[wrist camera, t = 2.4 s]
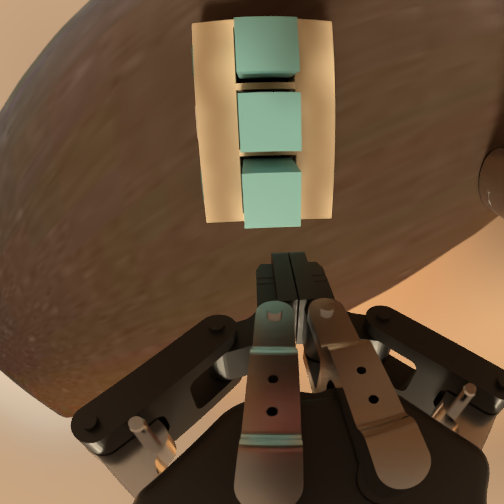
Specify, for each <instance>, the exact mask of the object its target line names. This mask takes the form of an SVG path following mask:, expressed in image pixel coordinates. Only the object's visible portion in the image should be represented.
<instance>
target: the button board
mask: <svg viewBox="0 0 504 504" xmlns="http://www.w3.org/2000/svg"><path fill="white" fill-rule="evenodd" d="M297 24H298V40H299V60H300V71H299V72H298V73H296V74H295V75H293V76H292V77H290V78H289V82H255V83H238V81H237V72H236V53H235V32H234V19H232V20H220V21H210V22H201V23H194V24H192V43H193V45H192V66H193V75H194V83H195V99H196V107H195V114H196V127H197V139H198V140H199V151H200V163H201V170H200V173H201V183H202V193H203V201H204V203H205V212H206V221H207V223H211V222H232V221H244V206H243V188H242V158H241V156H261V155H291V158H292V159H293V161H294V162H295V164H296V165H297V166H298V168H299V169H300V171H301V172H302V174H301V219H322V218H331V216H332V201H333V182H334V156H335V76H334V52H333V35H332V22H331V21H321V20H308V19H297ZM247 91H289V92H301V136H302V151H269V152H243V153H241V151H240V132H239V113H238V94H237V93H238V92H247Z"/></svg>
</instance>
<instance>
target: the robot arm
mask: <svg viewBox="0 0 504 504" xmlns="http://www.w3.org/2000/svg"><path fill="white" fill-rule="evenodd" d="M479 192H480V196H481V199H482V202H483V203H484V205H485V206H486V207H487V208H489V209H490V210H492V211H493V212H494V213H496V214H498V215H499V216H501V217H502V218H503V219H504V149H503V148H498V149H495V150H493V151H492V152H491V153H490V154H489V155H488V156H487V158H486V159H485V161H484V163H483V165H482V168H481V172H480V177H479ZM256 280H257V309H256V312H255V313H254V314H253V315H252V316H251V317H249V318H248V319H246V320H243V321H239V322H235V321H234V320H233V319H232V318H230V317H228V316H225V315H213V316H210V317H207V318H205V319H204V320H202V321H201V322H200V323H198V324H197V325H196V326H194V327H193V328H191V329H190V330H189V331H187V332H186V333H185V334H183V335H182V336H181V337H179V338H178V339H177V340H175V341H174V342H173V343H171V344H170V345H169V346H167V347H166V348H164V349H163V350H162V351H160V352H159V353H158V354H156V355H155V356H153V357H152V358H151V359H149V360H148V361H147V362H145V363H144V364H142V365H141V366H140V367H138V368H137V369H136V370H134V371H133V372H131V373H130V374H129V375H127V376H126V377H124V378H123V379H122V380H120V381H119V382H117V383H116V384H115V385H113V386H112V387H110V388H109V389H108V390H106V391H105V392H103V393H102V394H100V395H99V396H98V397H96V398H95V399H93V400H92V401H90V402H89V403H88V404H86V405H85V406H83V407H82V408H80V409H79V410H78V411H77V412H76V413H75V414H74V416H73V418H72V421H71V430H72V433H73V435H74V436H75V437H76V438H77V439H78V440H79V441H80V442H81V443H82V444H83V445H84V446H85V447H86V448H87V450H88V451H89V452H91V453H92V454H93V455H94V456H95V457H96V458H98V459H99V460H100V461H101V462H102V463H103V464H105V465H106V467H107V468H108V469H109V470H110V471H111V473H112V474H113V475H114V476H115V477H116V478H117V480H118V481H119V482H120V483H121V484H122V485H123V486H124V487H125V489H126V490H128V492H129V493H130V494H131V495H132V496H133V497H134V498H135V500H134V503H133V504H487V502H486V501H487V500H486V499H487V488H488V482H489V464H488V461H487V458H486V456H485V455H484V453H483V452H482V448H483V446H484V444H485V442H486V440H487V437H488V435H489V433H490V430H491V428H492V425H493V423H494V420H495V418H496V416H497V414H499V412H500V411H501V410H502V409H503V408H504V370H503V369H501V368H500V367H498V366H496V365H494V364H492V363H491V362H489V361H487V360H485V359H484V358H482V357H480V356H478V355H476V354H475V353H473V352H471V351H469V350H467V349H466V348H464V347H462V346H460V345H458V344H457V343H455V342H453V341H451V340H449V339H447V338H445V337H444V336H442V335H440V334H438V333H436V332H435V331H433V330H431V329H429V328H427V327H425V326H423V325H422V324H420V323H418V322H416V321H414V320H412V319H411V318H409V317H407V316H405V315H403V314H401V313H399V312H398V311H396V310H394V309H392V308H390V307H387V306H374V307H371V308H370V309H369V310H368V311H367V312H366V315H361V314H354V313H350V312H347V311H346V310H345V308H344V306H343V305H342V304H341V303H340V302H338V301H337V300H335V298H334V296H333V293H332V290H331V288H330V285H329V282H328V280H327V277H326V276H325V272H324V270H323V267H321V266H320V265H319V264H318V263H317V262H308V261H307V258H306V255H305V252H288V253H272V254H271V264H260V266H259V267H258V269H257V270H256ZM295 338H296V344H303V346H304V354H303V360H304V364H305V367H306V371H307V375H308V378H309V382H310V385H311V389H312V393H305V392H300V386H299V366H298V351H297V349H296V344H295ZM390 349H392V350H394V351H395V352H397V353H399V354H400V355H402V356H404V357H406V358H407V359H409V360H411V361H412V362H413V363H414V364H415V366H416V370H415V369H413V368H411V367H409V366H408V365H406V364H404V363H402V362H401V361H399V360H398V359H396V358H394V357H393V356H391V355H389V352H390ZM246 375H247V384H246V394H245V402H243V403H240V404H238V405H236V406H234V407H232V408H231V409H230V410H228V411H227V412H225V413H224V414H223V415H222V416H220V417H219V418H218V420H216V421H215V422H214V423H213V424H212V425H211V426H210V427H209V428H208V429H207V431H205V432H204V433H203V434H202V435H201V436H200V437H199V438H198V439H197V440H196V441H195V442H194V443H193V444H192V445H191V446H190V447H189V448H188V449H187V450H186V451H185V452H184V453H183V454H182V455H181V456H179V457H178V458H177V459H176V460H175V461H174V462H173V463H172V464H171V465H170V466H169V467H167V466H168V465H169V463H170V462H171V461H172V460H173V459H174V457H175V455H176V444H175V442H174V441H175V440H177V439H178V438H179V437H180V436H181V435H182V434H183V433H185V432H186V431H187V430H188V429H189V428H190V427H191V426H193V425H194V424H195V423H196V422H197V421H198V420H199V419H201V418H202V417H203V416H204V415H205V414H206V413H207V412H208V411H209V410H210V409H212V408H213V407H214V406H215V405H216V404H217V403H218V402H219V401H220V400H221V399H222V398H223V397H224V396H225V395H226V394H227V393H228V392H230V391H231V390H232V389H233V388H234V387H235V386H236V385H237V384H238V383H239V382H240V380H241V378H242V376H246Z"/></svg>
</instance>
